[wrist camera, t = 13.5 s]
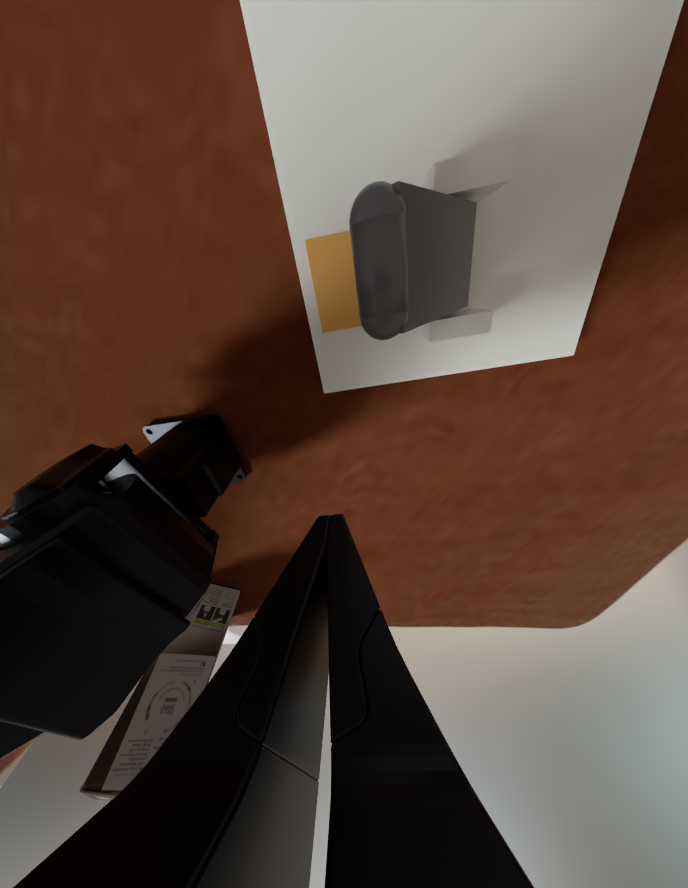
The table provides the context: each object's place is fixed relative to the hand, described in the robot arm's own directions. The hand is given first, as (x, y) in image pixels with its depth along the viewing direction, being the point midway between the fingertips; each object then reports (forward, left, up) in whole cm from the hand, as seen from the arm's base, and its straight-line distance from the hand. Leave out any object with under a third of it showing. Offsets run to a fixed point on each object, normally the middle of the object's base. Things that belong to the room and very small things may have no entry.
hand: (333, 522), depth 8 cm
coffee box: (-23, -27, -12) cm, 38 cm away
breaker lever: (+7, +7, -10) cm, 14 cm away
